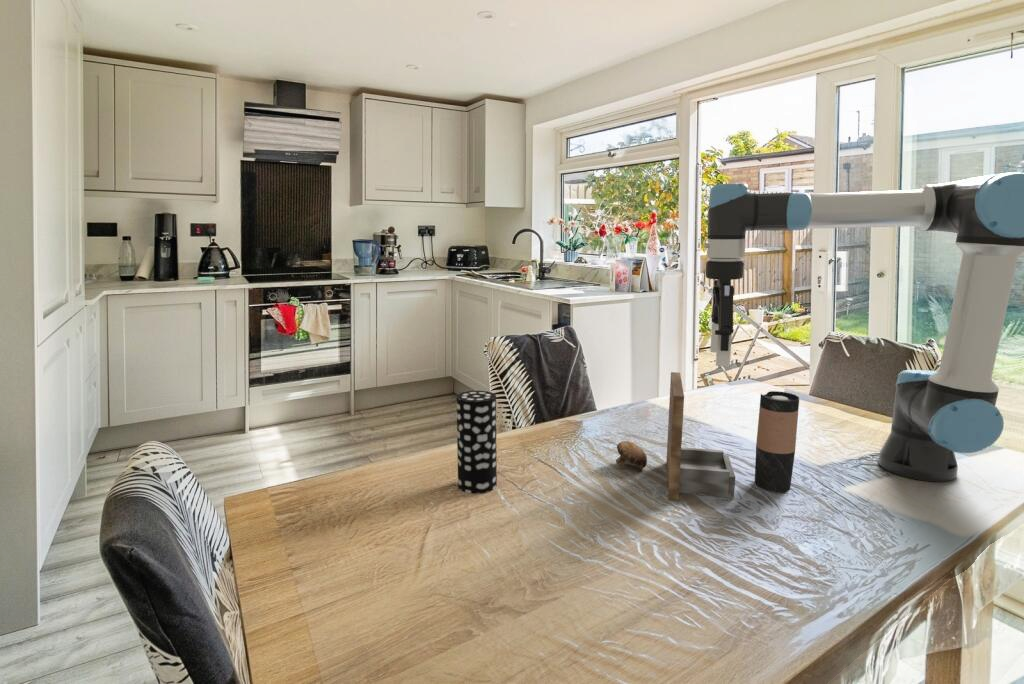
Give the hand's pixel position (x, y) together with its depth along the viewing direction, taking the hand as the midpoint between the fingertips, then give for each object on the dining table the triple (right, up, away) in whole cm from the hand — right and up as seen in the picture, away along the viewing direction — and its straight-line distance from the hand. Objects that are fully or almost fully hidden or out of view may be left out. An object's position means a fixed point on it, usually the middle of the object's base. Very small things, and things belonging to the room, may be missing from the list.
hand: (719, 358), depth 133 cm
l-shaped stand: (-4, -27, +1) cm, 27 cm away
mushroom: (-17, -26, +10) cm, 32 cm away
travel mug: (+11, -27, 0) cm, 30 cm away
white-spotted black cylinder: (-52, -27, 0) cm, 59 cm away
